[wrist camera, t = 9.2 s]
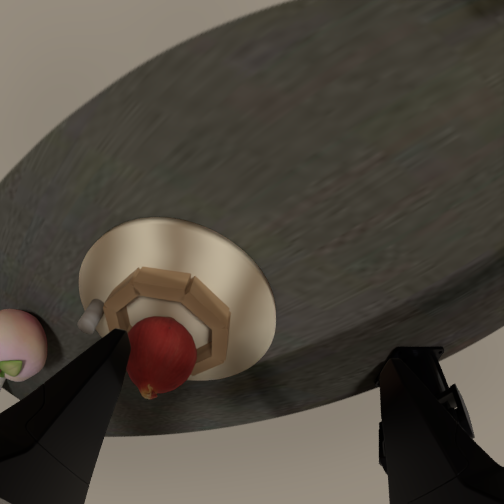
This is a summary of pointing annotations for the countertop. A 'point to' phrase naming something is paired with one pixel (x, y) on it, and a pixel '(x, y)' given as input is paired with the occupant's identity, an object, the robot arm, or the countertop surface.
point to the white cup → (1, 382)
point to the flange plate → (180, 290)
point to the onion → (160, 355)
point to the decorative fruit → (21, 345)
